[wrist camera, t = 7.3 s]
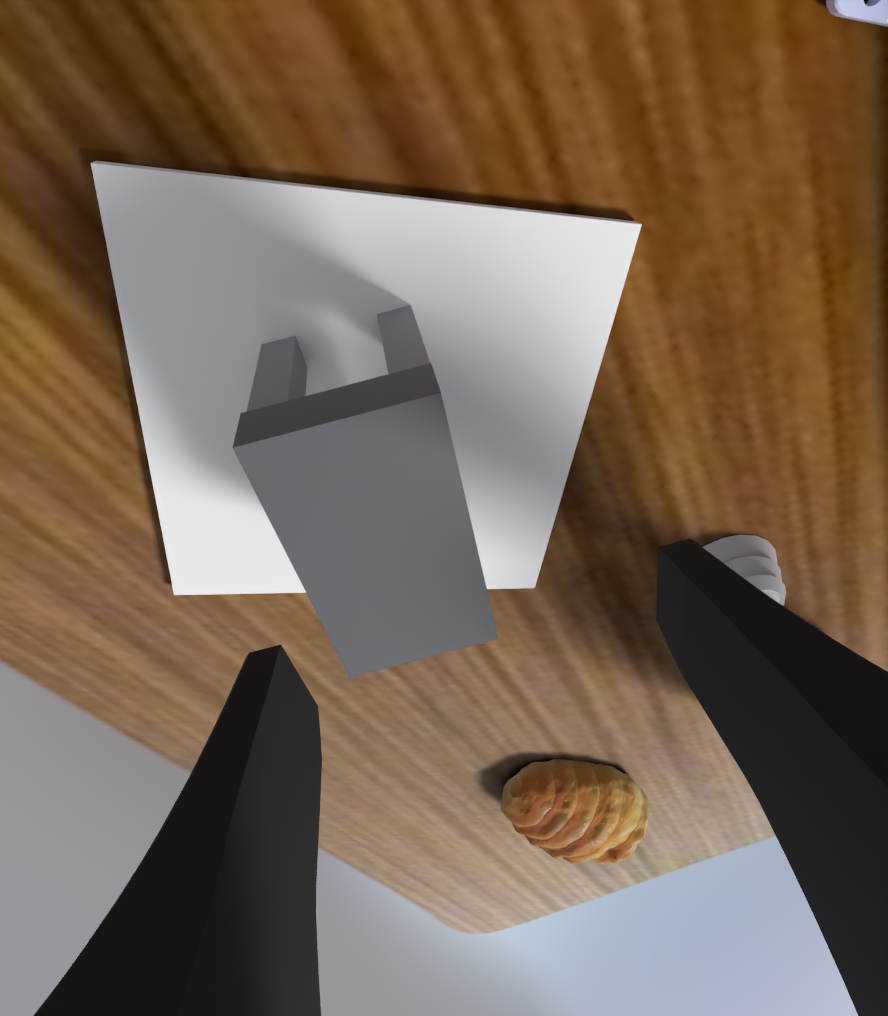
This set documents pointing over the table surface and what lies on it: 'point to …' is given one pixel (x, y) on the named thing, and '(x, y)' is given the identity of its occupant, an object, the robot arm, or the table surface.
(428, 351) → the mat
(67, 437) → the table surface
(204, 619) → the table surface
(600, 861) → the pastry
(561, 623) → the table surface
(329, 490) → the stool
